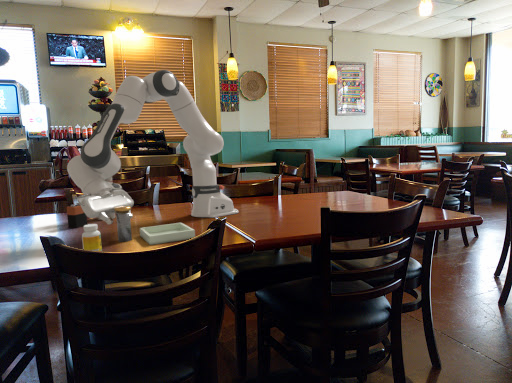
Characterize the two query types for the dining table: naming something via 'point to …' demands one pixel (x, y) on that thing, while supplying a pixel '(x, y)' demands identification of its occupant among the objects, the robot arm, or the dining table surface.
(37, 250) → the dining table surface
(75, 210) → the battery
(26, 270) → the dining table surface
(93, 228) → the supplement bottle
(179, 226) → the tray
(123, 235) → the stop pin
